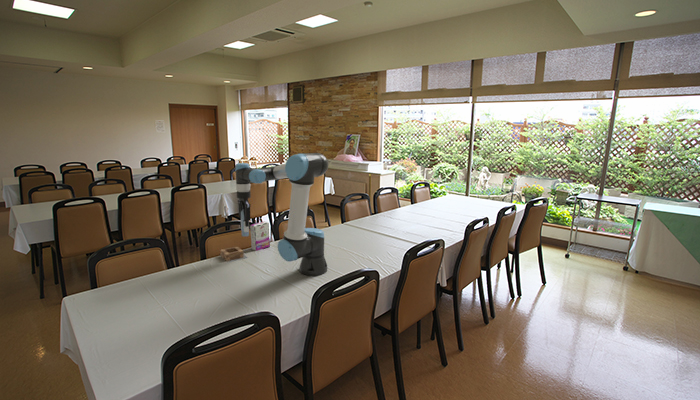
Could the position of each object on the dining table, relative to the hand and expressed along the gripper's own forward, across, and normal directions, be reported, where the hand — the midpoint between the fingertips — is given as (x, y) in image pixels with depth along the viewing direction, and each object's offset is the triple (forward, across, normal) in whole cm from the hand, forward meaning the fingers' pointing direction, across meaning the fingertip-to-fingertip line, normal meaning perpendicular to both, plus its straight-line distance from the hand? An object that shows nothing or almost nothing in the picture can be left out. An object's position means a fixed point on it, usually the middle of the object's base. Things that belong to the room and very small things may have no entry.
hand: (245, 230), depth 199 cm
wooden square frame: (+17, +7, +6) cm, 19 cm away
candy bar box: (+18, +12, -14) cm, 25 cm away
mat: (+17, +7, +5) cm, 19 cm away
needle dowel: (+3, 0, 0) cm, 3 cm away
